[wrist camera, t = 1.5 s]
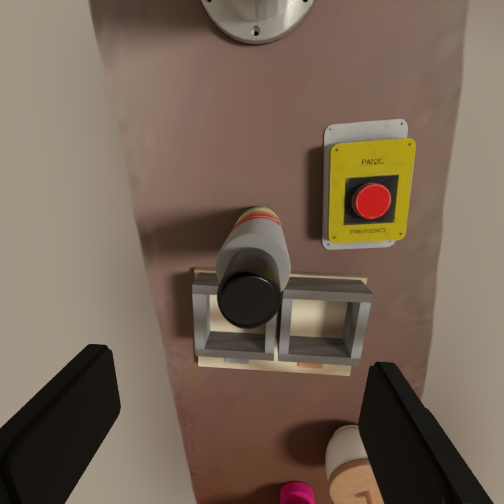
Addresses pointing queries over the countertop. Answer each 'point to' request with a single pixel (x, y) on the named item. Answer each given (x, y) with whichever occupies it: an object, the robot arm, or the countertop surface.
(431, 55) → the countertop surface
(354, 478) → the lidded jar
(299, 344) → the socket board
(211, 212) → the countertop surface
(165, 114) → the countertop surface
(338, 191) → the emergency button
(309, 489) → the pepper mill
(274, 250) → the lotion bottle
